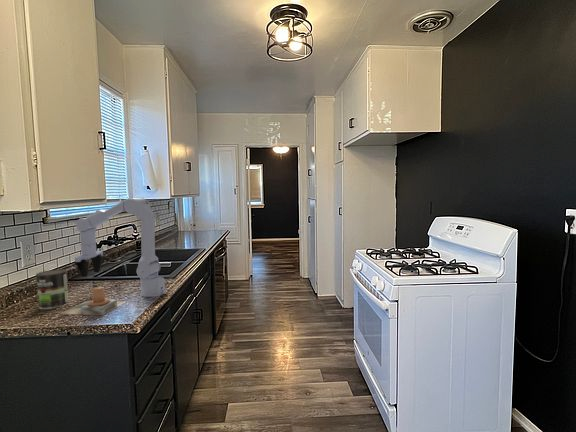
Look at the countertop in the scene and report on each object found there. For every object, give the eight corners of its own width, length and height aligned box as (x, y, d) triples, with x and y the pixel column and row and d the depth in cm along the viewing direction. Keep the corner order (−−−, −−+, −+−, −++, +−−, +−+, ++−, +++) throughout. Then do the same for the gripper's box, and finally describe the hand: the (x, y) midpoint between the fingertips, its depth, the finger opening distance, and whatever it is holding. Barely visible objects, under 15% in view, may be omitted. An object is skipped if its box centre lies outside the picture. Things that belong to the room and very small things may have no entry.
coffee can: (56, 309, 129) (53, 275, 128) (32, 309, 129) (29, 275, 128) (74, 300, 139) (72, 268, 138) (52, 300, 140) (49, 269, 138)
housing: (126, 304, 133) (125, 295, 132) (103, 317, 119) (102, 308, 118) (86, 303, 135) (85, 295, 134) (59, 316, 121) (58, 307, 120)
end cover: (113, 306, 127) (112, 285, 126) (101, 313, 120) (100, 291, 120) (97, 306, 128) (96, 285, 127) (85, 312, 121) (83, 291, 120)
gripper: (92, 241, 151) (94, 270, 152) (67, 247, 136) (69, 278, 137) (106, 241, 150) (108, 270, 151) (82, 247, 135) (84, 278, 136)
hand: (90, 274), depth 144 cm, fingers open, 7 cm apart
